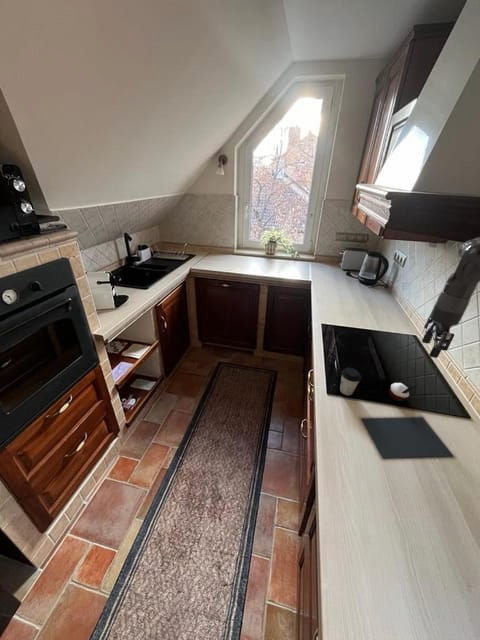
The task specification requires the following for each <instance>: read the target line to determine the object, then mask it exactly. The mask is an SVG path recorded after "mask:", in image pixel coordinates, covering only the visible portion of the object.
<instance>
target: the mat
mask: <svg viewBox="0 0 480 640" xmlns="http://www.w3.org/2000/svg"><path fill="white" fill-rule="evenodd" d="M361 421H362V423H363V425H364V427H365V429H366V430H367V432H368V434H369V436H370V438H371V440H372V442H373V443H374V446H375V447H376V450H377V451H378V452H379V454H380V456H381V458H382V459H400V458H401V459H402V458H403V459H404V458H405V459H406V458H439V457H440V458H443V457H444V458H445V457H454V455H453V453H452V452H451V451H450V449H449V448H448V447H447V446H446V445H445V443H444V442H443V441H442V439H441V438H440V437H439V436H438V434H437V433H436V432H435V431H434V430H433V428H432V427H431V425H430V424H428V422H427V421H426V420H425V418H424V417H422V416H421V417H420V416H419V417H415V416H414V417H370V418H369V417H368V418H367V417H365V418H364V417H362V418H361Z"/></svg>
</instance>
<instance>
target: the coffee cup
mask: <svg viewBox="0 0 480 640" xmlns="http://www.w3.org/2000/svg"><path fill="white" fill-rule="evenodd" d="M361 380H362V375H361V373H360V372H359V371H358V370H357V369H356V368H352V367H346V368H343V370H342V371H341V377H340V387H339V392H340V393H341V394H343V395H345V396H352V395H353V393H354V391H355V390H356V388H357V386H358V384H359V382H360V381H361Z"/></svg>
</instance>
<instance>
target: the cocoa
mask: <svg viewBox="0 0 480 640" xmlns="http://www.w3.org/2000/svg"><path fill="white" fill-rule="evenodd" d="M417 387H418V384H411V385H410V386H409V387H408V386H407V385H405V384H404V383H402V382H393V383H392V384H391V385H390V388H389V390H388V395H389V397H390V398H391V399H392V400H394V401H395V402H399V403H400V402H405V400H407V399H408V398H409V396H410V392H412V390H414V389H415V388H417Z"/></svg>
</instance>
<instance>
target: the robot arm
mask: <svg viewBox="0 0 480 640" xmlns="http://www.w3.org/2000/svg"><path fill="white" fill-rule="evenodd" d="M457 256H458V259H459V262H458V265H457V267H456V268H455V270H454V272H452V273H451V274H450V275H449V276H448V278H447V280H446V281H445V284H444V286H443V289H442V290H441V292H440V293H439V295H438V297H437V299H436V301H435V303H434V306H433V307H432V310H431V312H430V314H429V316H428V318H427V320H426V322H425V324H424V326H423V328H424V335H423V337H422V338H421V342H422V343H423V344H426V345H427V344H430V343H431V341H432V340H433V346H432V348H431V350H430V352H429V357H431V358H434V359H437V358H439V356H440V354H441V353H442V351H444V352H447V351H448V350H449V347H450V345H451V344H452V341H453V340H454V337H455V333H452V332H450V330H451V327H453V326H457V325H459V324H460V322H461V320H462V318H463V316H464V315H465V312H466V311H467V309H468V307H469V305H470V302H471V299H472V297H473V295H474V293H475V291H476V290H477V288H478V285H479V283H480V236H479V237H475V238H472V239H469V240H467V241H465V242H464V243H462V244H461V246H460V247H459V248H458V250H457Z"/></svg>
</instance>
